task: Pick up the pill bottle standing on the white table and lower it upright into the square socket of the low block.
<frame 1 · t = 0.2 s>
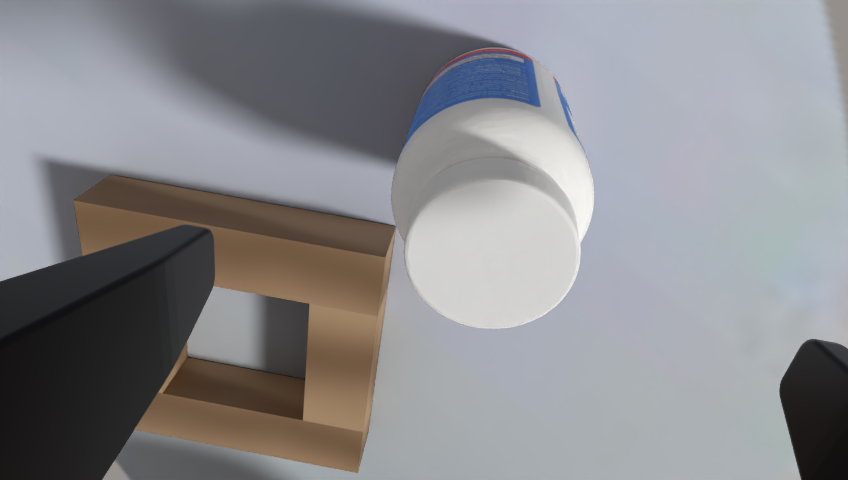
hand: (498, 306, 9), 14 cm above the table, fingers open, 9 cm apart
pill bottle: (492, 119, 22), on the table
socket block: (252, 316, 28), on the table
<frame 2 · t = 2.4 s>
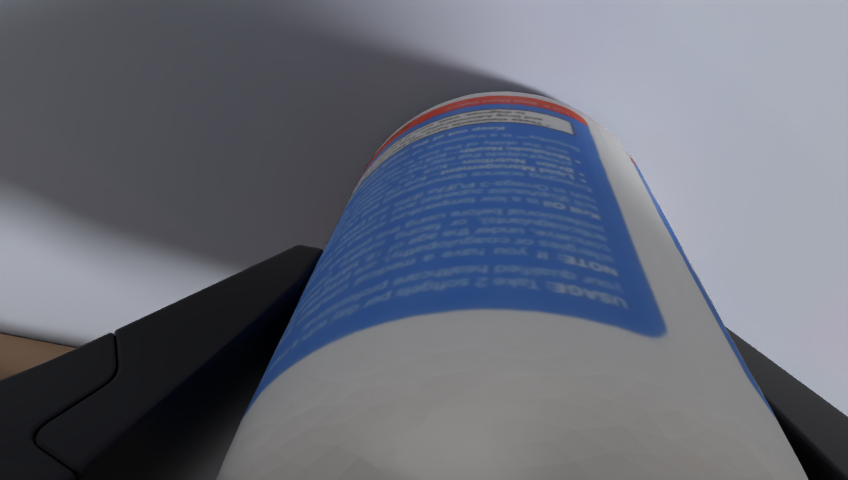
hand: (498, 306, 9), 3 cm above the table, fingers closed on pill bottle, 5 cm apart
pill bottle: (499, 224, 11), on the table, touching gripper
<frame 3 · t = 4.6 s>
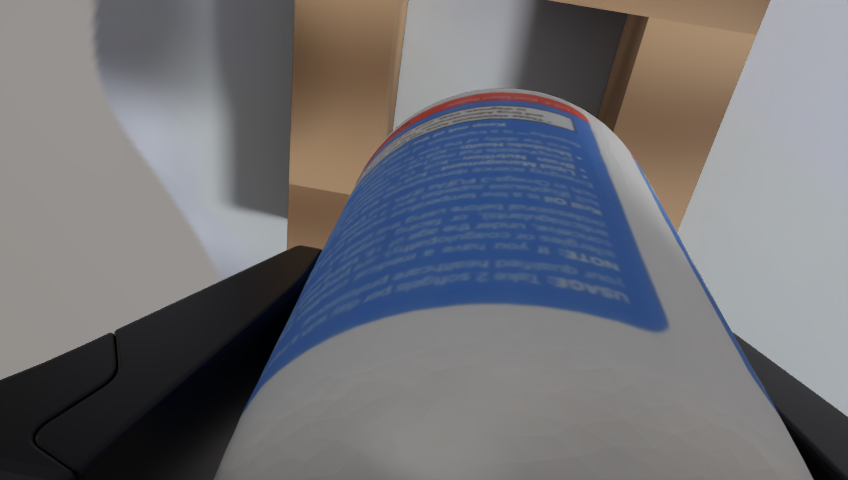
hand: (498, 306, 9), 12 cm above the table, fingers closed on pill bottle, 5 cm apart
pill bottle: (499, 222, 11), point 9 cm above the table, touching gripper
socket block: (498, 93, 19), on the table
when the fingers open (3 cm above the table, at t = 6.8 s): pill bottle stays where it is, resting in socket block.
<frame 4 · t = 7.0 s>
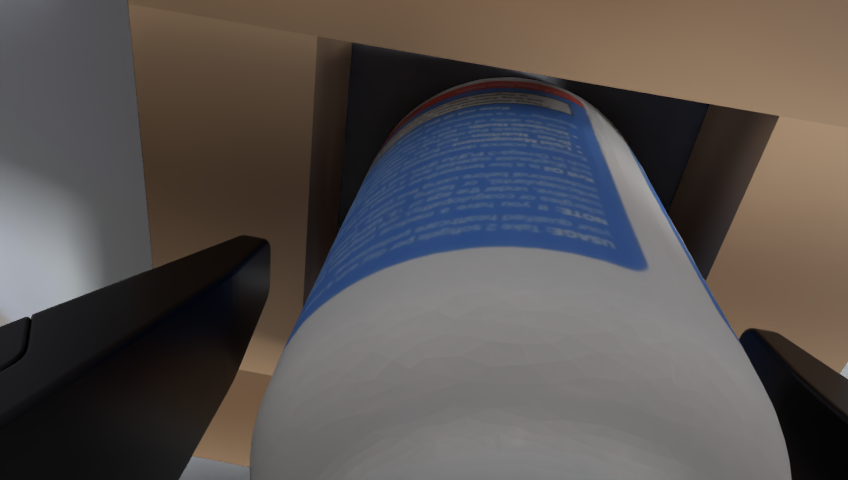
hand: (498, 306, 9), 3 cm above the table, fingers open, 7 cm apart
pill bottle: (502, 203, 12), resting in socket block
socket block: (499, 206, 12), on the table
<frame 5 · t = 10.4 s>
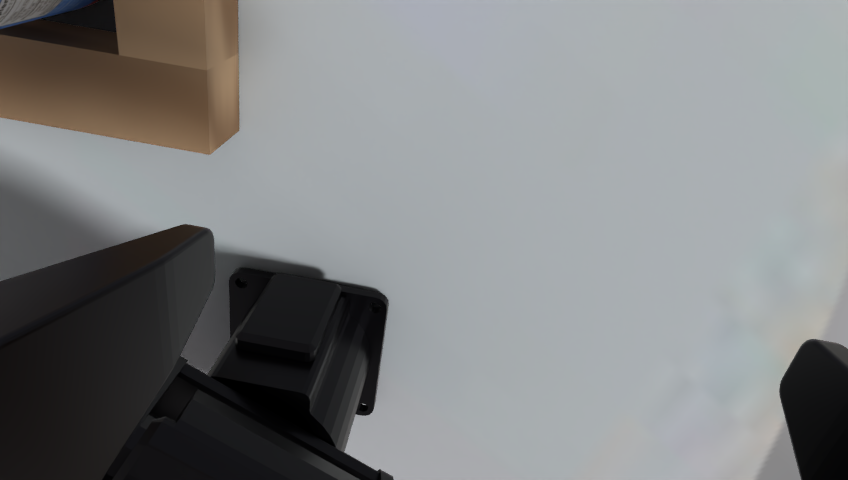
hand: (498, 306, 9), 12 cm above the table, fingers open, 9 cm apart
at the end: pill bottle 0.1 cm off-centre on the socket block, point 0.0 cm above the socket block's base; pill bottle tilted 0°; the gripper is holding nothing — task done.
